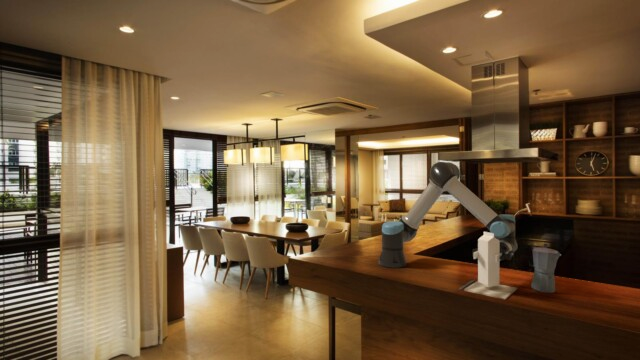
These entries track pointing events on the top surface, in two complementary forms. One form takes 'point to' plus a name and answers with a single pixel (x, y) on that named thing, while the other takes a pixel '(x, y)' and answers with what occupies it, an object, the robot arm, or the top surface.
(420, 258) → the top surface
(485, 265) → the milk
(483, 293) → the mat
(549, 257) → the moka pot
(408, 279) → the top surface
